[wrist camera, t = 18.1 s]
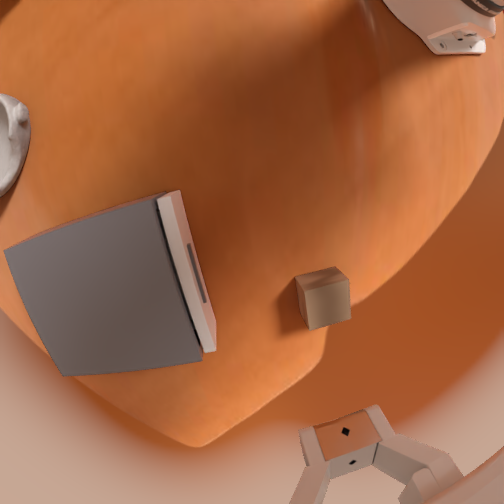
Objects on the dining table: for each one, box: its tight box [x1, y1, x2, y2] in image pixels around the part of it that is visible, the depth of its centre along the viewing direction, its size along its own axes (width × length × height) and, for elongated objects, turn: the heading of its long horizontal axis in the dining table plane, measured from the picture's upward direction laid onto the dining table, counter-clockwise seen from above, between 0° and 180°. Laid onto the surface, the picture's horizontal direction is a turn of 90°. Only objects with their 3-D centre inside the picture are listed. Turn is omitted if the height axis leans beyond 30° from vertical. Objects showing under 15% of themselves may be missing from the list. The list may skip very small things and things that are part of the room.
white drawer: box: [156, 190, 216, 353], centre depth 27 cm, size 18×16×6 cm
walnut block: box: [295, 267, 351, 331], centre depth 32 cm, size 5×5×4 cm
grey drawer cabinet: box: [4, 191, 203, 376], centre depth 27 cm, size 18×16×7 cm
